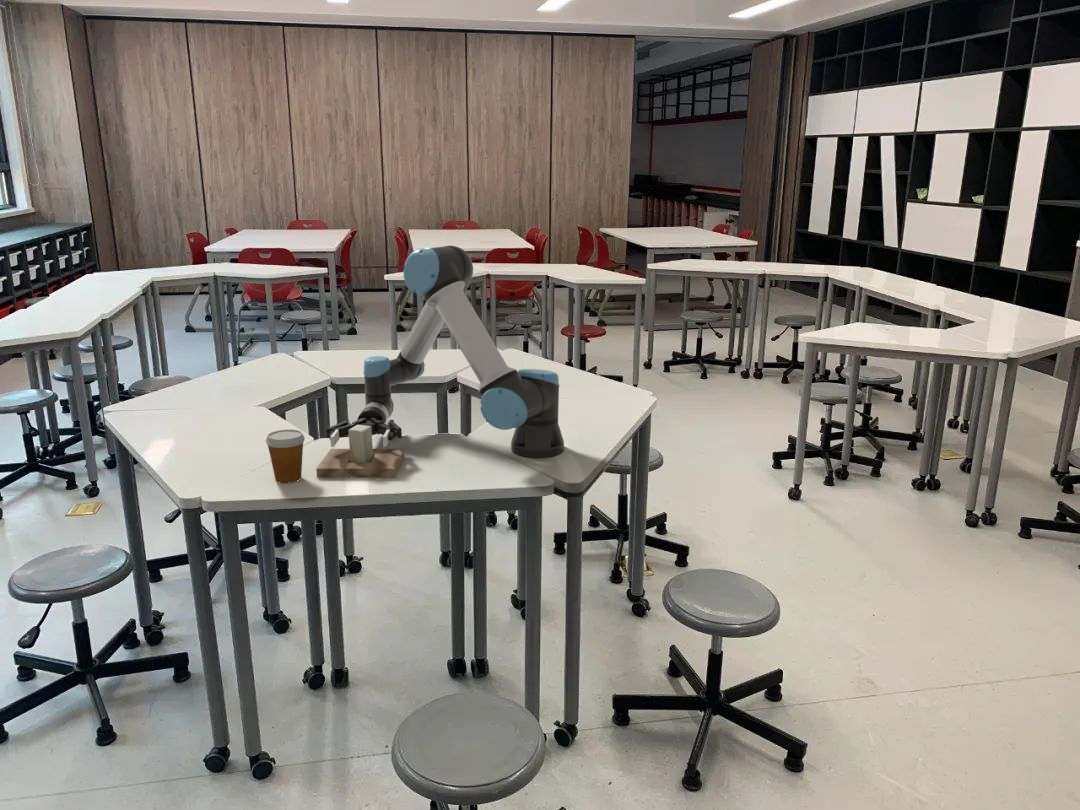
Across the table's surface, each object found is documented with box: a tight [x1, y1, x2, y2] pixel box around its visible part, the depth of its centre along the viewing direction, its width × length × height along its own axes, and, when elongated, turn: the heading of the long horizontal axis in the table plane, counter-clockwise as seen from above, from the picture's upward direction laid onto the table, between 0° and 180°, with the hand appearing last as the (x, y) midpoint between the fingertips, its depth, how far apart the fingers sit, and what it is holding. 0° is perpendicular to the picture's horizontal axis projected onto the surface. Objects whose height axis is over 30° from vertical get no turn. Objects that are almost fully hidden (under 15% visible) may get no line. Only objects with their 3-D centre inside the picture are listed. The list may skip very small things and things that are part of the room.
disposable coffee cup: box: [264, 428, 306, 484], centre depth 206 cm, size 10×10×12 cm
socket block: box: [316, 448, 405, 479], centre depth 216 cm, size 20×16×2 cm
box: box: [348, 425, 374, 463], centre depth 215 cm, size 5×4×11 cm
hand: (358, 442), depth 212 cm, fingers open, 13 cm apart
